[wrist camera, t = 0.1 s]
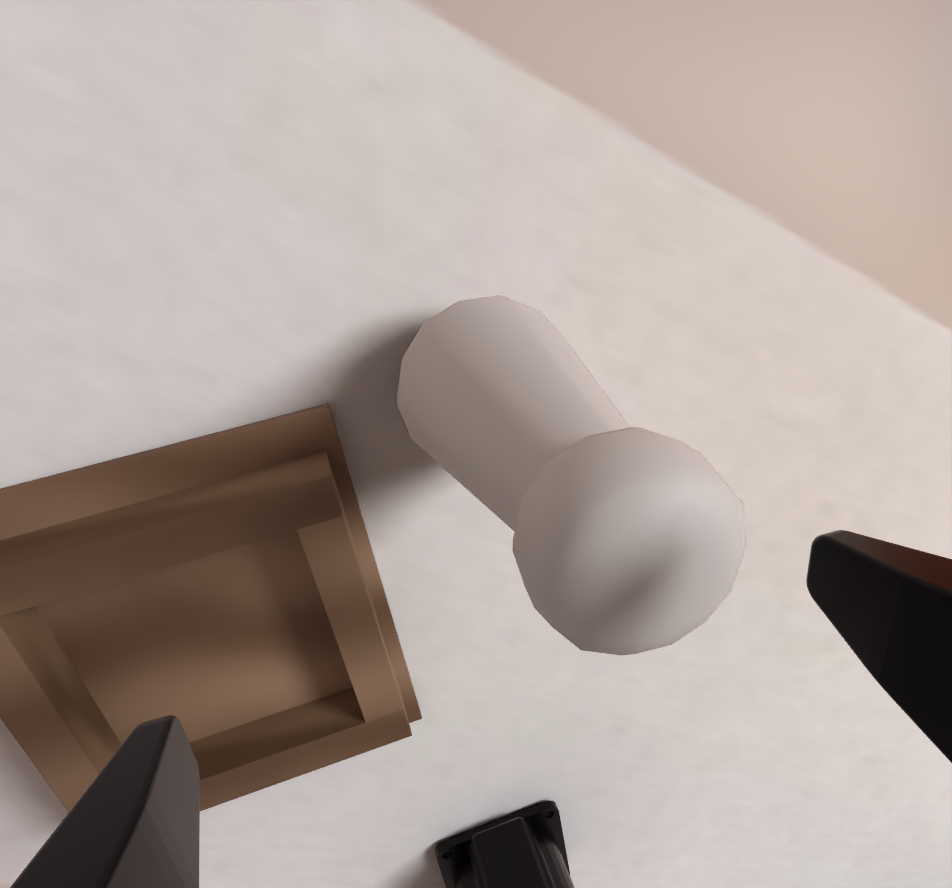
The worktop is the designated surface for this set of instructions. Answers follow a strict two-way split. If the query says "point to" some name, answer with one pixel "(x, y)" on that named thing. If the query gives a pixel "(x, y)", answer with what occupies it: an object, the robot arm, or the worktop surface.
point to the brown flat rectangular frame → (200, 610)
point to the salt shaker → (572, 479)
